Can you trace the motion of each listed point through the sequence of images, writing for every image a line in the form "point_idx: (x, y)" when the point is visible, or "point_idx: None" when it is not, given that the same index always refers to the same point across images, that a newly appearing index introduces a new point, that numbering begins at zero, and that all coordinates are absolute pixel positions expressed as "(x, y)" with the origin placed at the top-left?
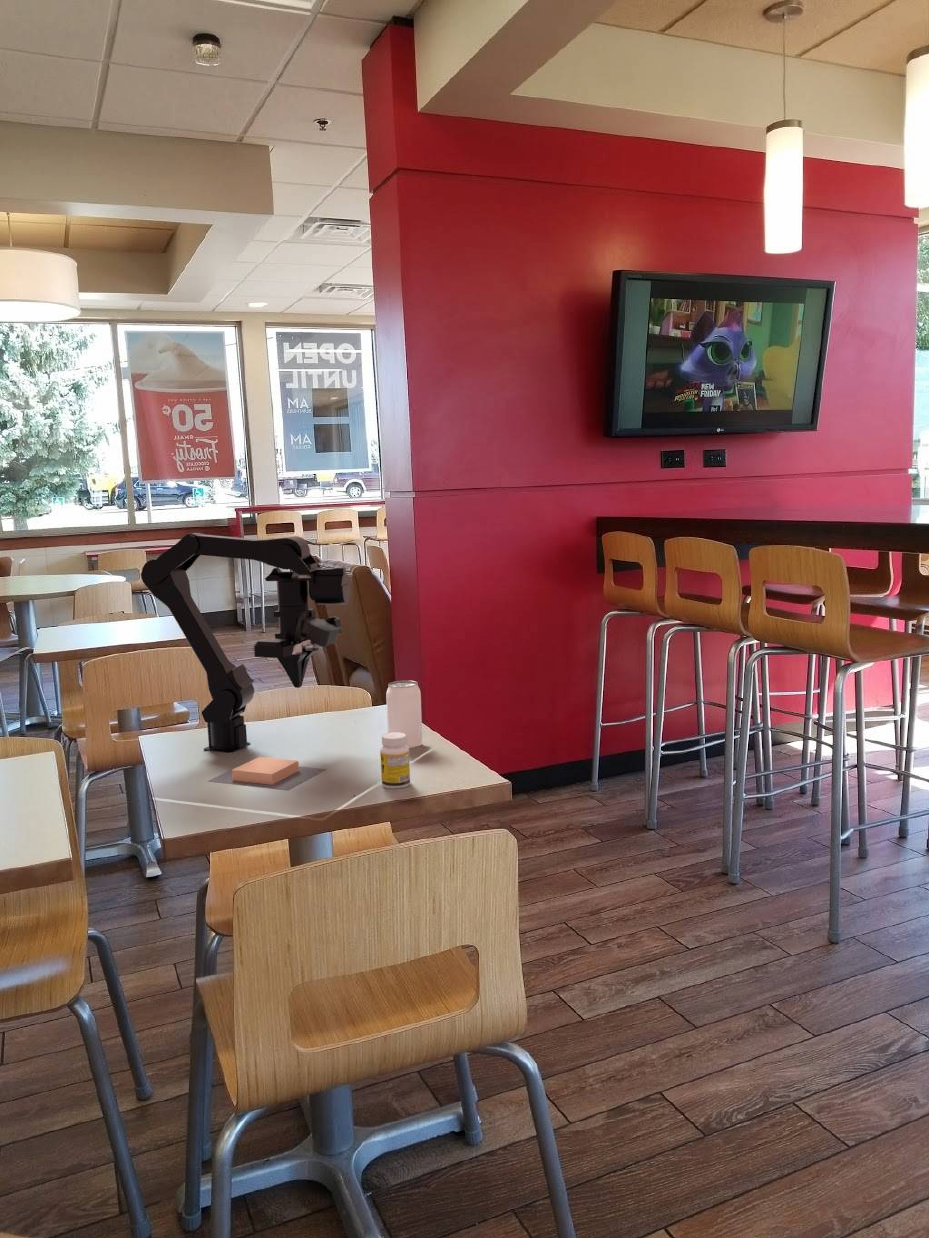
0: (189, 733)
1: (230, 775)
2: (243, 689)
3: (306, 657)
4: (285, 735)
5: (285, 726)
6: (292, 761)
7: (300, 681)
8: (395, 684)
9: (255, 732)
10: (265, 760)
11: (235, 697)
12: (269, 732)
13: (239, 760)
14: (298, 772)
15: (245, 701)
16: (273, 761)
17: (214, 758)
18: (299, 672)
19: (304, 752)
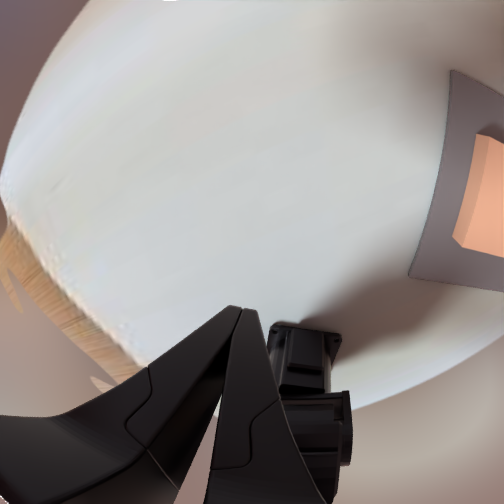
0: None
1: (489, 269)
2: (306, 448)
3: (117, 472)
4: (176, 285)
5: (126, 305)
6: (494, 150)
7: (242, 329)
8: None
9: None
10: (486, 221)
11: (345, 436)
12: (170, 320)
13: (383, 303)
14: (483, 132)
15: (304, 413)
16: (494, 198)
17: (366, 347)
18: (258, 387)
19: (306, 179)
